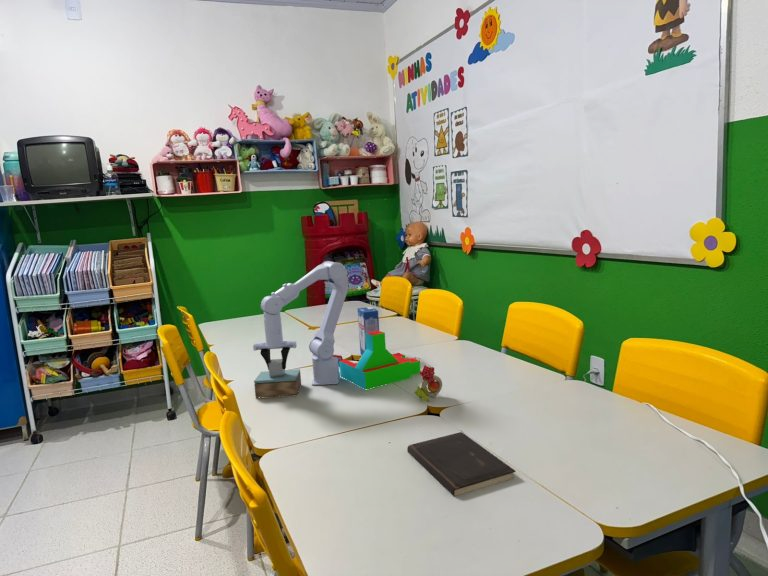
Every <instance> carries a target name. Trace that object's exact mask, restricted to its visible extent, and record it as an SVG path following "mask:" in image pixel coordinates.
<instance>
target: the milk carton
mask: <svg viewBox="0 0 768 576" xmlns="http://www.w3.org/2000/svg"><path fill="white" fill-rule="evenodd" d="M357 323H358V337H359V350H360V351H359V352H360V355H361V356H362V355H363V353H364V352H365V350H366V336H365V333H368V332H373V331H377V330H378V331H380V319H379V310H378V309H376V308H374V307H373V306H367V307H359V308H357Z"/></svg>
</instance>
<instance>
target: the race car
mask: <svg viewBox="0 0 768 576" xmlns="http://www.w3.org/2000/svg"><path fill="white" fill-rule="evenodd" d="M332 357H338V363H339V361H340V360H344V359H343V356H342V355H341V354H333V355H332Z"/></svg>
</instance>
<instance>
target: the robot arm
mask: <svg viewBox="0 0 768 576" xmlns="http://www.w3.org/2000/svg"><path fill="white" fill-rule="evenodd" d="M347 275H348V271H347V269H346V267H345V266H344V265H343V263H341V262H334V261H332V260H331V261H330V260H327V261H326V260H325V261H323V262H322V263H321V264H319V265H317V266H316V267H314V268H313V269H312V270H311V271H309V272H308V273H306V275H304V276H301V278H300V279H299V280H297V281H296V282H294V283H292V282H288V283H284V284H282V285H281V286H282V287H280V288H279V289H278V290H276V291H275V292H274V291H272V292H271V293H270V294H271V295H267V296H264V297H263V298H262V300H261V302H260V303H261V304H260V309H261V310H262V311H263V323H264V324H263V325H264V333H265V335H264V336H265V342H259V343H254V344H252V348H253V349H252V350H253V351H255V352H256V351H260V355H261V357H262V359H263V360H264V361H265V364H266V366H267V370H268V371H269V364H268V363H269V362H270V360H272V359H271V350H278V349H279V350H280V349H281V351H280V353H281V359H282V362H283V369H285V370H286V368H287V360H288V357H289V353H290V350H291V349H296V348H297V347H298V346H297V341H293V340H291V341H289V340H287V341H285V340H284V337H283V328H282V327H283V326H282V317H281V311H282V310H283V307H285V306H287V305H288V304H289V303H291V302H292V301H294V300H295V299H297V298H298V297H299V296H300V292H301V291H303V290H304V289H306V288H308V287H309V286H311V285H313V284H315V283H316V282H317V281H321V280H326V281H327V282H328V283H329V285H330V287H331V288H332V290H331V294H330V296H329V300H328V302H327V306H326V308H325V311H324V315H323V318H322V321H321V324H320V326H319V329H318V331H317V332H316V333H315V334H314V337H313V338H312V339H311V340H310V341H309V344H308V349H309V352H310V353H312V357H311V362H312V371H313V372H312V373H313V374H312V375H313V380H312V383H311V386H321V385H323V386H325V385H335V384H336V385H337V384H339V381H340V378H341V377H340V364H338V357H332V355H334V352H335V347H334V345H335V337H334V333H335V330H336V329H337V324H338V321H339V318H340V315H341V312H342V309H343V306H344V303H345V300H346V296H347V294H348V291H349V282H348V276H347Z"/></svg>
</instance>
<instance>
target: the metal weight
mask: <svg viewBox="0 0 768 576" xmlns="http://www.w3.org/2000/svg"><path fill="white" fill-rule="evenodd" d="M268 364H269V370H268V371H269V375H270V377H283V375H284V374H285V370H286V368H285V369H283V362H282V358H276V359H275V358H272V359H271V360H270V362H269V363H268Z"/></svg>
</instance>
